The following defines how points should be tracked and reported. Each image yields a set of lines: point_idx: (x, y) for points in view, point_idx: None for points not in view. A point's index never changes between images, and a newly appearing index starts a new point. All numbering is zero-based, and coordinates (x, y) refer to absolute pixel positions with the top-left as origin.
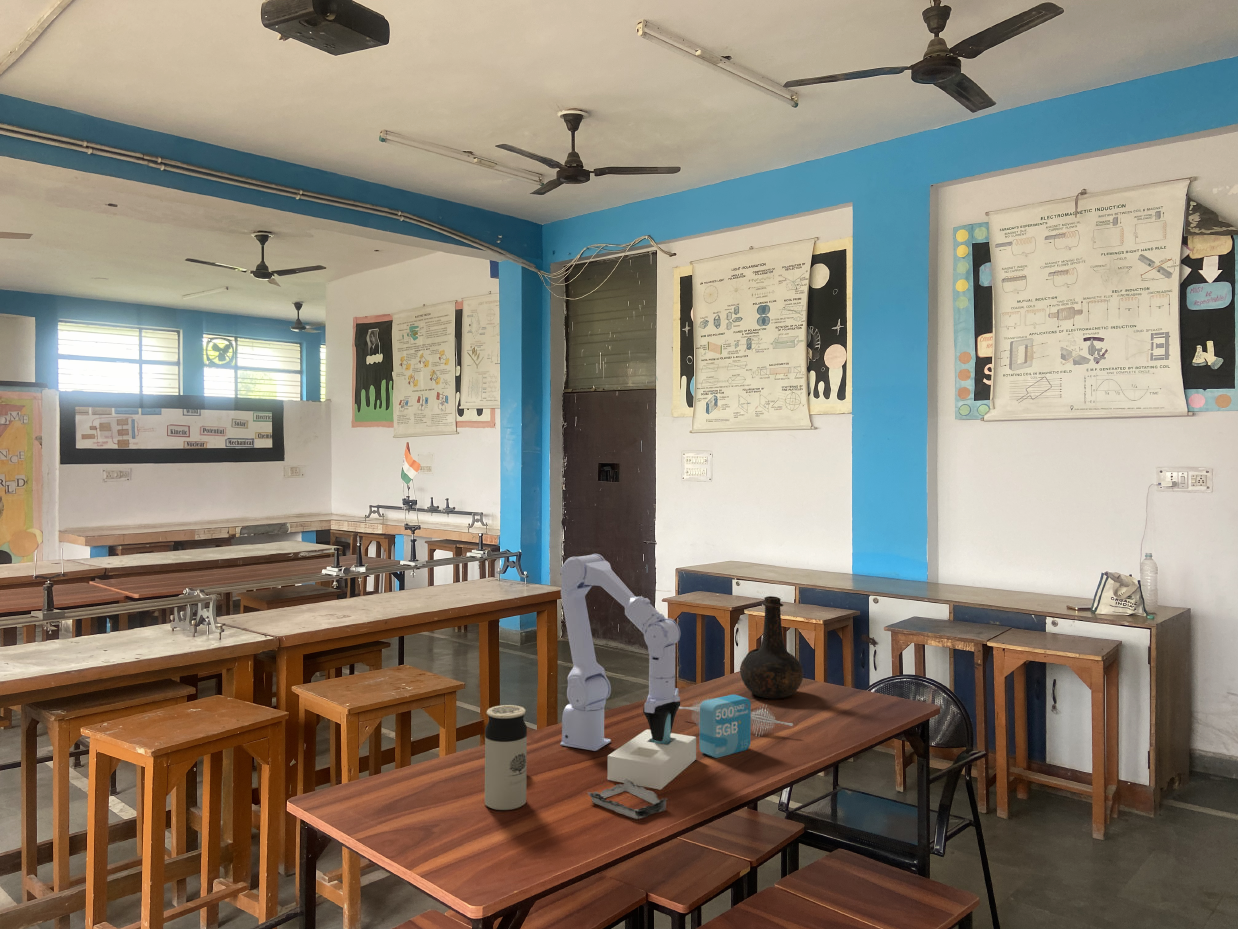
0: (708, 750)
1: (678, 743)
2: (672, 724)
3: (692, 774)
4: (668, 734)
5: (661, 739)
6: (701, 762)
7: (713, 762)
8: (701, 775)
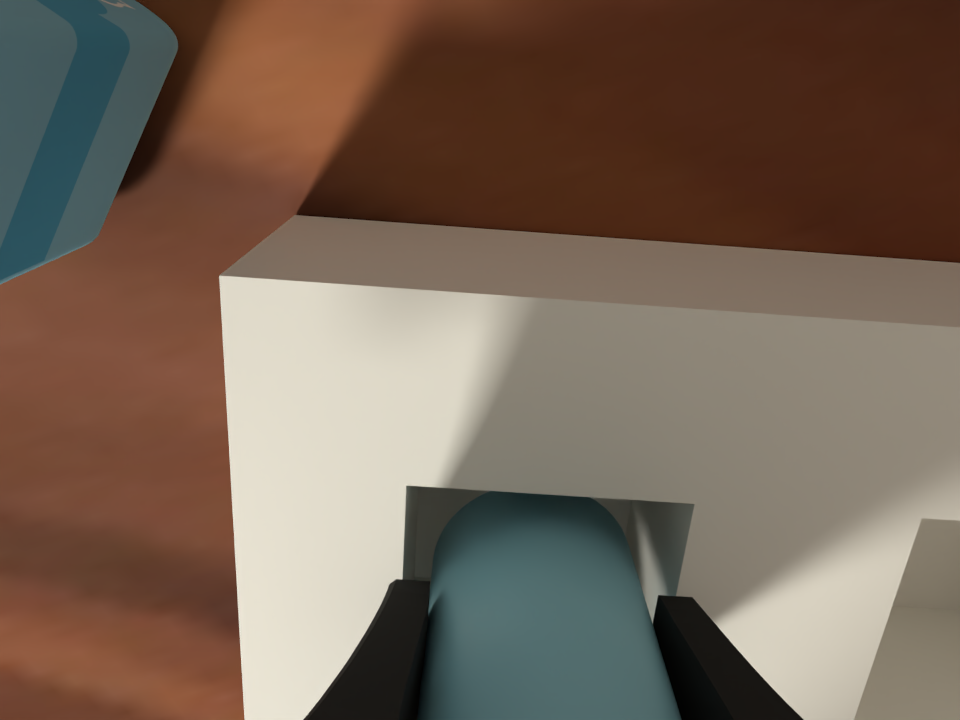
0: (148, 108)
1: (590, 408)
2: (378, 657)
3: (725, 119)
4: (594, 590)
5: (704, 611)
6: (348, 135)
7: (287, 5)
8: (727, 17)
